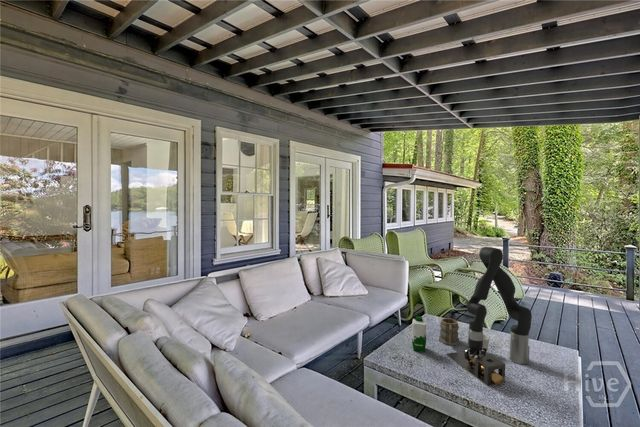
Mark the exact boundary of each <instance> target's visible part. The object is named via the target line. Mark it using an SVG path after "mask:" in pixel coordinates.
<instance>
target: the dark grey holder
mask: <svg viewBox="0 0 640 427" xmlns="http://www.w3.org/2000/svg"><path fill="white" fill-rule="evenodd" d="M445 356H447V357H448V358H450V359H451V360H452V361H453V362H455V363H456V364H457V365H459V366H460V367H461V368H463V370H465V371H466V372H468V373H469V374H470V375H471V376H473V377H475V378H476V379H477V380H478V381H480V382H481V383H482V384H484V386H487V387H491V386H496V385H497V384H495V383H494V382H493V381H491V370H493V371H495V372H496V371H498V372H497V373H498V374H499V375H501V376H502V377H503V378H504V382H503V384H507V382H506V363H504V362H503V361H502V360H500V359H498V358H497V357H496V356H493V355H485V356H484V357H477V356H476V357H475V368H473V367H472V368H470V367H469V366H468V363H467V362H466V359H465V355H464V351H456V352H450V353H445ZM481 364H483V365H484V366H485V368H484V375H483V374H482V373H481ZM497 386H498V385H497Z"/></svg>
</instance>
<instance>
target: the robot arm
mask: <svg viewBox="0 0 640 427" xmlns="http://www.w3.org/2000/svg"><path fill="white" fill-rule="evenodd" d="M479 259H480V261H481V263H482V264H483V265H484V267H485V268H486V270H485V272H484V273H483V274H482V275H481V276H480V278H478V280H477V282H476V285H475V287H474V292H473V293H472V295H471V297H470V299H469V300H468V302H467V304H466V311H467V312H468V313H469V314H471V315H473V316H475V317H472V318H470V319H469V323H468V336H467V338H468V340H467V341H468V342H467V343H468V348H467V349H463V353H464V355H465V359H466V360H468V366H469V367H470V368H472V367H473V362H472V361H473V358H474V357H475V358H477V357H484V356H487V354H486V351H487V352H488V349H486V348H484V347H483V335H484V322H485V319H486V317H487V314H488V310H487V308H486V306H485V305H484V304H481V303H480V302H481V301H487V299H488V296H489V292H490V289H491V286H492V283H494V285H495V288H496V289H497V291H498V292H499V296H500V297H501V299H502V302H503V303H504V305H505V309H506V312H507V314H508V316H509V317H510V318H511V319H513V320H515V321H517V324H514V325H511V326H510V335H509V336H510V340H509V341H510V342H509V360H510V361H511V362H513V363H515V364H519V365H526V364H528V363H529V362H530V348H531V347H530V346H529V339H530V338H529V337H530V336H529V335H530V331H531V327H532V317H533V316H532V314H533V313H532V311H531V310H530V309H529V308H528V307H525V306H522V305H520V304H519V303H518V302H517V300H516V298H515V294H516V285H515V284H514V281H513V279H512V277H511V276H510V275H509V274H508V273H507V272H506V271H505V270H504V269H503V268H501V264H502V262H503V260H504V253H503V251H502V250H501V249H500V248H497V247H496V248H495V247H490V246H484V247H481V249H480V250H479ZM470 358H471V359H470Z"/></svg>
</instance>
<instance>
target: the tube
mask: <svg viewBox="0 0 640 427" xmlns="http://www.w3.org/2000/svg"><path fill="white" fill-rule="evenodd" d="M475 358H476V356H475V357H474V358H473V361H472V362H473V368H475ZM470 359H471V358H470ZM466 362H467V363H468V360H466ZM484 368H485V366H484V365H483V364H481V373H482V374H483V375H484ZM491 381H493V382H494V383H495V384H497V386H501V385H503V384H504V383H503V382H504V378H503V377H502V376H501V375H499V374H498V372H496V370H495V371H493V370H491Z"/></svg>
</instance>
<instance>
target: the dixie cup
mask: <svg viewBox="0 0 640 427" xmlns="http://www.w3.org/2000/svg"><path fill="white" fill-rule="evenodd" d="M489 342H490V336H488V335H485V334H483V347H484V348H486V349H487V351H486V355H487V354H488V348H489Z"/></svg>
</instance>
